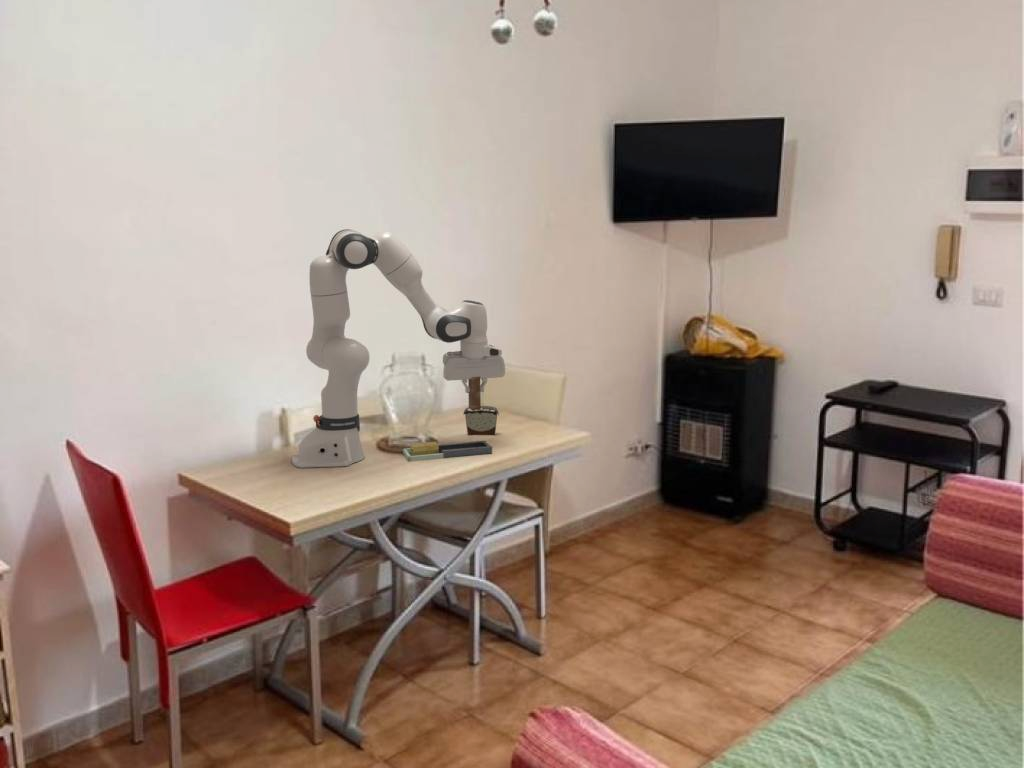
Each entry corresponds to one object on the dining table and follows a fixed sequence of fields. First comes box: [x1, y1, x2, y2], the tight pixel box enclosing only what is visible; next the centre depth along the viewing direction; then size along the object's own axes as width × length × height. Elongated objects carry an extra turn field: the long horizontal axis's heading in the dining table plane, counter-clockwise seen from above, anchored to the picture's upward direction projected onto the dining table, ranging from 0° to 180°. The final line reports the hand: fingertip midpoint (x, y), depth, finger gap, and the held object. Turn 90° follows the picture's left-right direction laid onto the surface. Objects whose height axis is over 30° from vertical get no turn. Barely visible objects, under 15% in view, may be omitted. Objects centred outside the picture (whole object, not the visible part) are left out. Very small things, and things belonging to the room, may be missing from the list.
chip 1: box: [410, 442, 426, 456], centre depth 293 cm, size 4×4×4 cm
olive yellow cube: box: [423, 441, 439, 455], centre depth 294 cm, size 4×4×4 cm
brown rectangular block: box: [467, 377, 482, 410], centre depth 305 cm, size 3×4×11 cm
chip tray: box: [402, 447, 445, 462], centre depth 294 cm, size 11×10×2 cm
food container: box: [462, 405, 500, 436], centre depth 321 cm, size 12×6×10 cm, turn 84°
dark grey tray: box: [438, 440, 493, 459], centre depth 298 cm, size 16×10×3 cm, turn 107°
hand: (474, 392), depth 304 cm, fingers closed on brown rectangular block, 3 cm apart
